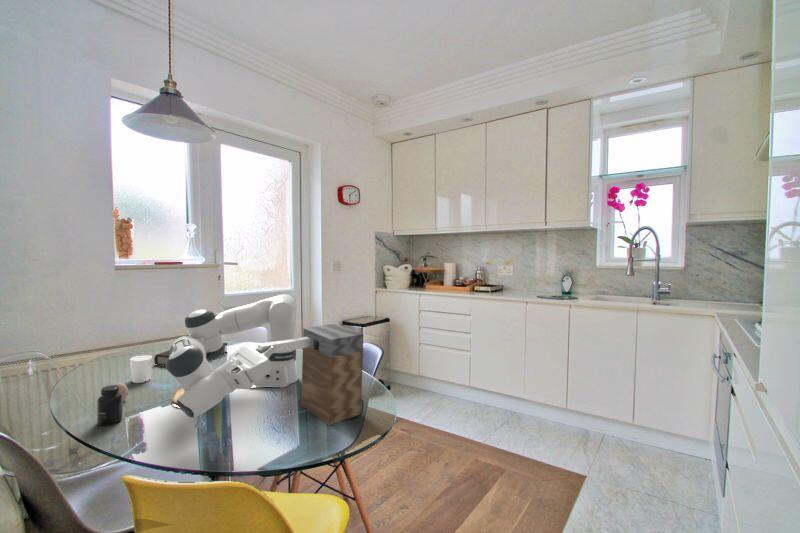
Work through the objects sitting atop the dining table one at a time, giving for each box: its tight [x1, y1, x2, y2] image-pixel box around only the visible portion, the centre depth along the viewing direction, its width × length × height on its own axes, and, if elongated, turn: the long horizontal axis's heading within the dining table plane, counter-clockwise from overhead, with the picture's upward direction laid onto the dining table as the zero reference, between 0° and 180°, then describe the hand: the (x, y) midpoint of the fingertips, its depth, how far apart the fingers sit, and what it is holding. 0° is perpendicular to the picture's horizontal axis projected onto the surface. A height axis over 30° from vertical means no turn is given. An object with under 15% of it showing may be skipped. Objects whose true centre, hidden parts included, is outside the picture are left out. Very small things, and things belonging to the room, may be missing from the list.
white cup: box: [129, 354, 153, 384], centre depth 159 cm, size 8×8×10 cm
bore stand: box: [301, 323, 364, 426], centre depth 138 cm, size 14×20×31 cm
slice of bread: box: [171, 387, 185, 405], centre depth 146 cm, size 18×18×4 cm
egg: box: [114, 382, 129, 401], centre depth 138 cm, size 5×5×7 cm
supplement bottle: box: [96, 384, 124, 427], centre depth 123 cm, size 7×7×12 cm
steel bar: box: [257, 336, 310, 354], centre depth 124 cm, size 18×3×3 cm, turn 133°
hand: (271, 345), depth 121 cm, fingers closed on steel bar, 3 cm apart
